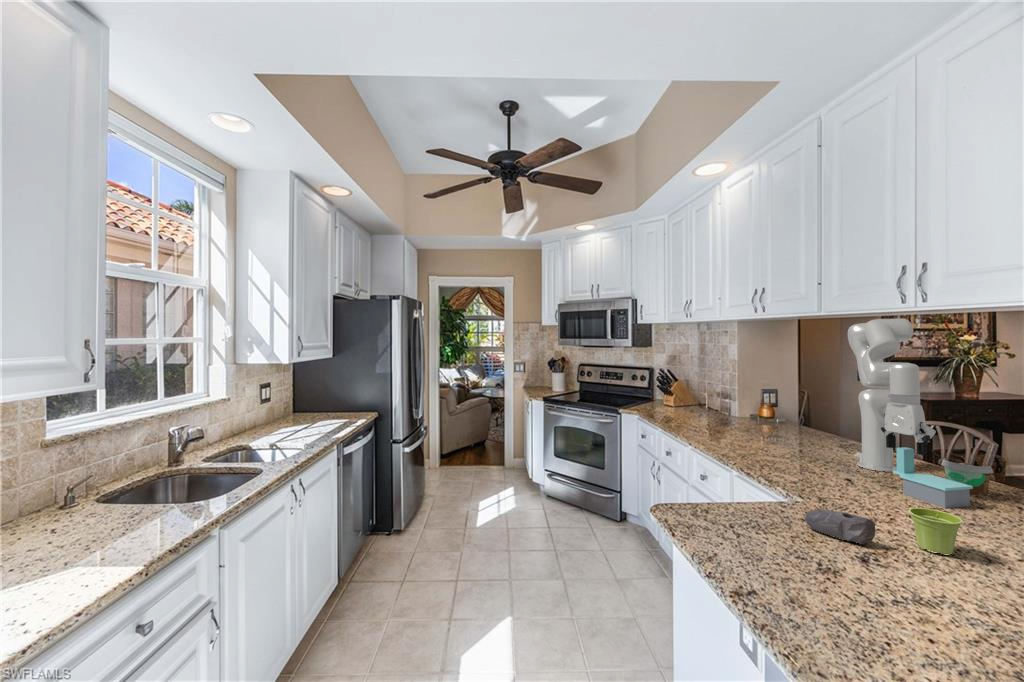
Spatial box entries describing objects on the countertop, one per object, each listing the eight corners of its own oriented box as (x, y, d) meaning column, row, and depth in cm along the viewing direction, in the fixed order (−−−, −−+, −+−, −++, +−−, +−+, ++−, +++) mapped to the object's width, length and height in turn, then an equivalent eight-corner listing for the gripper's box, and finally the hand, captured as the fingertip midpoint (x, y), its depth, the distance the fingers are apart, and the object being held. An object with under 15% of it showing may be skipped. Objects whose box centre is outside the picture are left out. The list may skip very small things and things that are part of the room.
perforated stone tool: (801, 530, 116) (800, 505, 116) (808, 525, 120) (808, 500, 120) (870, 551, 104) (870, 523, 104) (877, 545, 107) (876, 518, 107)
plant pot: (922, 538, 111) (921, 505, 111) (971, 555, 102) (971, 519, 102) (900, 545, 107) (900, 510, 107) (949, 563, 98) (949, 525, 98)
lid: (886, 473, 145) (886, 447, 146) (911, 471, 147) (911, 446, 147) (945, 490, 128) (944, 461, 128) (972, 488, 130) (972, 459, 130)
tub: (903, 495, 141) (902, 477, 141) (926, 494, 142) (925, 476, 142) (945, 510, 129) (944, 490, 129) (969, 507, 130) (969, 488, 130)
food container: (934, 488, 147) (934, 459, 147) (943, 485, 150) (942, 457, 150) (985, 500, 136) (985, 469, 136) (993, 497, 139) (993, 466, 139)
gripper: (870, 397, 152) (871, 445, 152) (923, 403, 135) (924, 457, 135) (888, 397, 153) (889, 445, 153) (943, 402, 136) (944, 456, 136)
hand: (905, 450), depth 144 cm, fingers open, 9 cm apart
